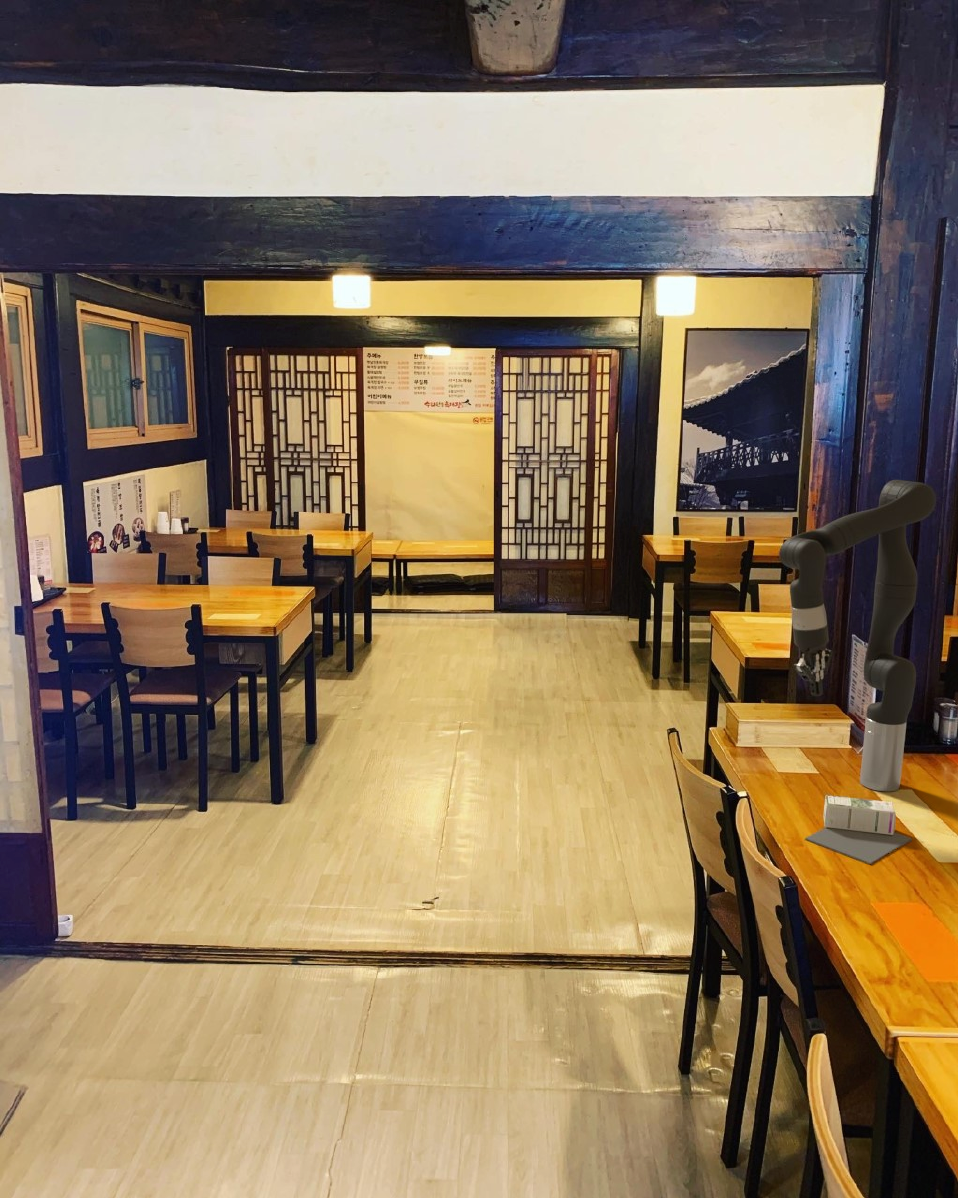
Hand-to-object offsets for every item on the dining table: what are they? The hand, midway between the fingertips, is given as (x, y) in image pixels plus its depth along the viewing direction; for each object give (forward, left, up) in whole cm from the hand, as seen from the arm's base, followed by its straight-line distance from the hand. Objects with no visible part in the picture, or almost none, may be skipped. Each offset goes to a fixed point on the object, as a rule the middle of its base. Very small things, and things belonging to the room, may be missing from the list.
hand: (817, 695), depth 231 cm
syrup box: (+9, +9, -23) cm, 26 cm away
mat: (+10, +18, -27) cm, 34 cm away
